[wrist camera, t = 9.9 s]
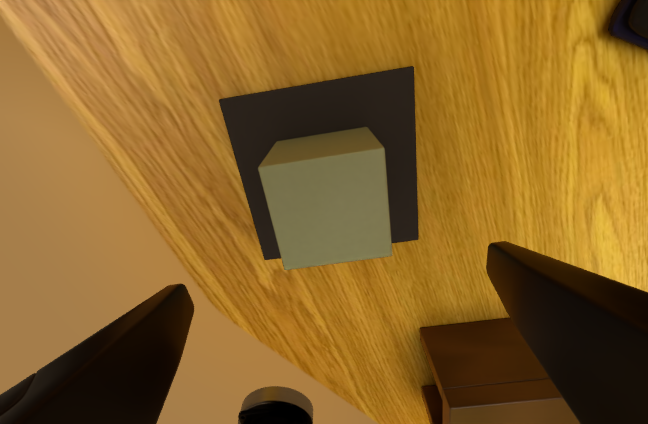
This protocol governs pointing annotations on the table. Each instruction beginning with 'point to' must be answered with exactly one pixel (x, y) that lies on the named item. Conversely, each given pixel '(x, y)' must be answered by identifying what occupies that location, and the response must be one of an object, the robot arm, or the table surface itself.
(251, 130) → the mat
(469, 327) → the block
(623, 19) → the laptop
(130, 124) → the table surface
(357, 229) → the block
